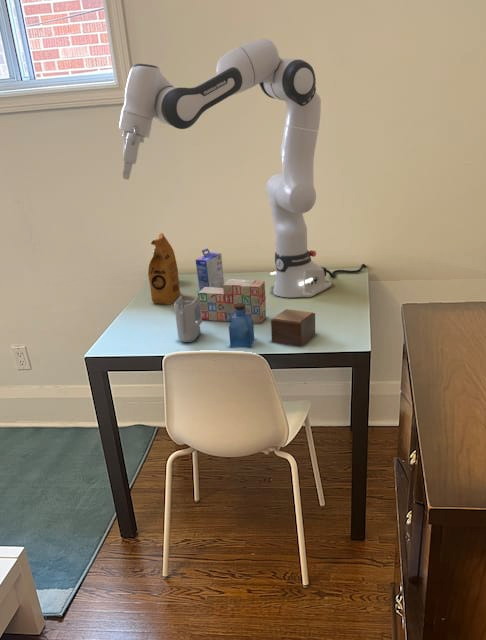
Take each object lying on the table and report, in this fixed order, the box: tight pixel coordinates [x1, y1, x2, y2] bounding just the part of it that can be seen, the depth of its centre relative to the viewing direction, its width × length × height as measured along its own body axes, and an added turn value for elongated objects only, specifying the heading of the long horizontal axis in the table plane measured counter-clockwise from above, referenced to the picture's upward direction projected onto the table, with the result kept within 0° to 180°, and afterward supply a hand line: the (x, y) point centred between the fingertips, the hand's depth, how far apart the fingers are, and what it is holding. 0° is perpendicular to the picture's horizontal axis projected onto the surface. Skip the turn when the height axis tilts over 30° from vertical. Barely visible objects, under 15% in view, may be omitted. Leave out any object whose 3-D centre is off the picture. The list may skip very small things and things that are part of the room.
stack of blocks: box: [197, 278, 267, 325], centre depth 218 cm, size 21×6×12 cm, turn 71°
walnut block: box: [270, 308, 316, 347], centre depth 202 cm, size 10×10×7 cm
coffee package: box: [147, 232, 181, 305], centre depth 237 cm, size 10×12×22 cm
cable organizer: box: [173, 295, 203, 343], centre depth 207 cm, size 7×12×12 cm, turn 168°
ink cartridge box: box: [195, 248, 225, 291], centre depth 246 cm, size 10×6×14 cm, turn 147°
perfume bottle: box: [228, 303, 255, 348], centre depth 200 cm, size 6×6×12 cm
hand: (125, 177), depth 197 cm, fingers open, 8 cm apart
